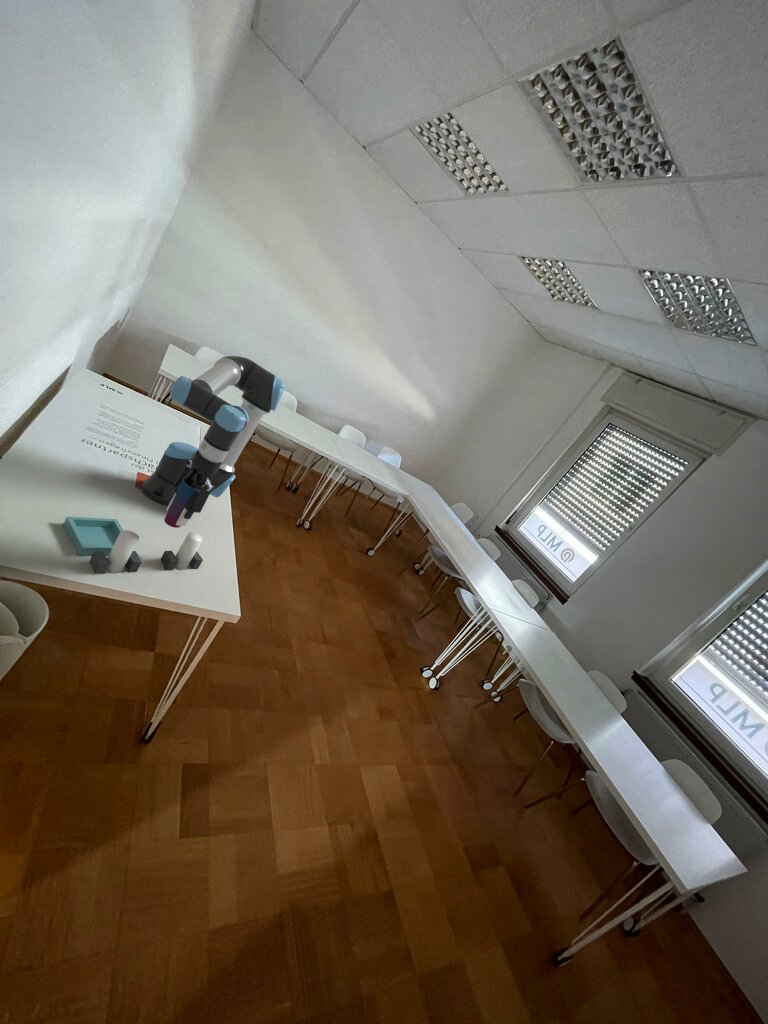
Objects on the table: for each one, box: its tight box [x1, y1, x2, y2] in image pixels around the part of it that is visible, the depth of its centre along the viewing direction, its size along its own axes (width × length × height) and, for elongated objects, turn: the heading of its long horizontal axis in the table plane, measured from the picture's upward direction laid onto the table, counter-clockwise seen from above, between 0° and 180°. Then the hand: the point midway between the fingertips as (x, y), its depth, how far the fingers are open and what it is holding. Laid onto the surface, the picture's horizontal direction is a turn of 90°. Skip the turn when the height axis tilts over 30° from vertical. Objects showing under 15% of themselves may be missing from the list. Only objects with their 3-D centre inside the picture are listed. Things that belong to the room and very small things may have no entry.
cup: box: [164, 477, 201, 529], centre depth 125 cm, size 7×7×15 cm
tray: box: [62, 516, 125, 557], centre depth 127 cm, size 14×14×3 cm
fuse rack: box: [88, 529, 204, 575], centre depth 130 cm, size 32×5×12 cm, turn 142°
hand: (175, 517), depth 127 cm, fingers closed on cup, 6 cm apart
